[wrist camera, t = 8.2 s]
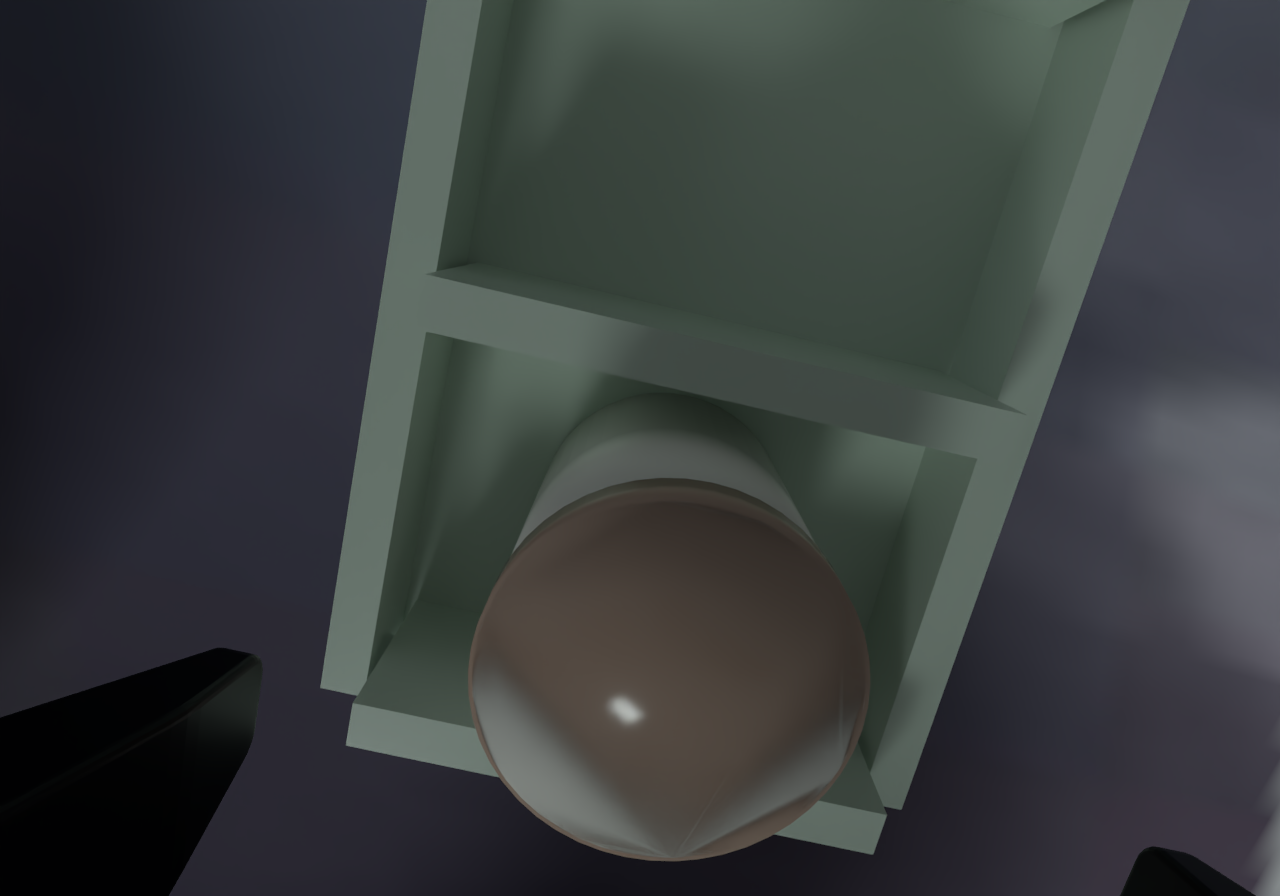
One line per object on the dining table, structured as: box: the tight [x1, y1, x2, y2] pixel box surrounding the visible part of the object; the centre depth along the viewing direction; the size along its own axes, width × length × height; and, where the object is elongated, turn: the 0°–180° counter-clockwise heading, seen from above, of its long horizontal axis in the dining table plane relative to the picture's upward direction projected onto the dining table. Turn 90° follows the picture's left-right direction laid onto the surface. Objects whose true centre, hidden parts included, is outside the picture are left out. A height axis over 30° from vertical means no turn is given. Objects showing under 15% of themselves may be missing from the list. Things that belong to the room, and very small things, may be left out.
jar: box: [468, 393, 870, 861], centre depth 14 cm, size 5×5×7 cm
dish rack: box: [320, 0, 1190, 855], centre depth 15 cm, size 15×11×5 cm
